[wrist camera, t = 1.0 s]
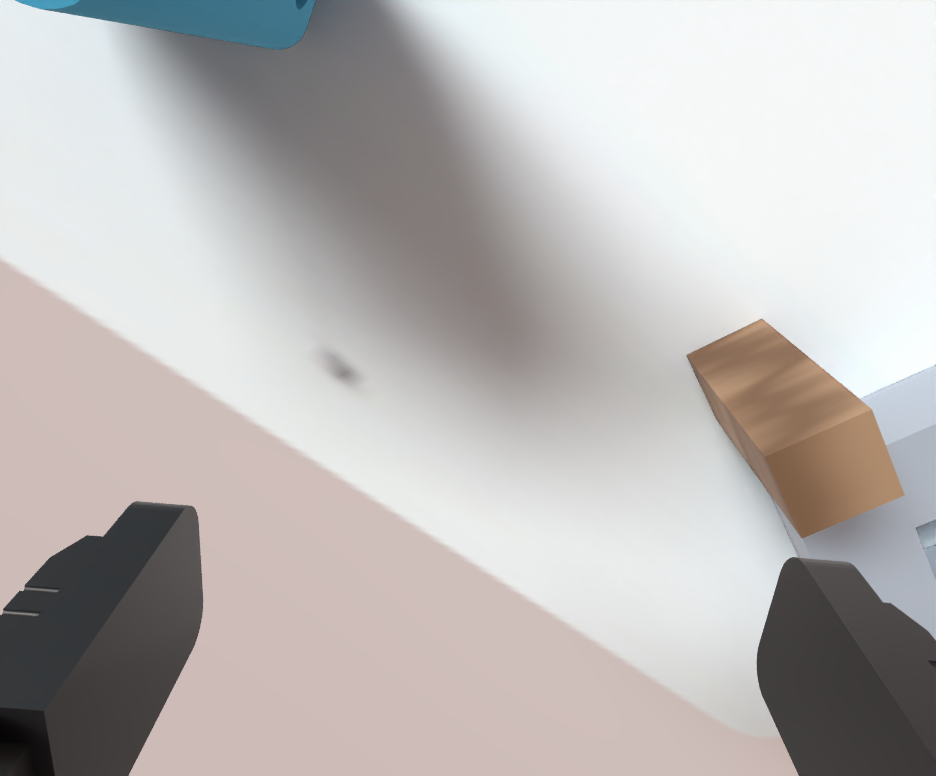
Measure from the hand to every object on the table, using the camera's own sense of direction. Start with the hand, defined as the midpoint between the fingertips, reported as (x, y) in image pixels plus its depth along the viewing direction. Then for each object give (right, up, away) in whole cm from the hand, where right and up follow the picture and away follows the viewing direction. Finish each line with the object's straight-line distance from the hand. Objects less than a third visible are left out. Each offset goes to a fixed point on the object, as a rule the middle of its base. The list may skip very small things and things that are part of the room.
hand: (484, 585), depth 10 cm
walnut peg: (+12, +4, +24) cm, 27 cm away
